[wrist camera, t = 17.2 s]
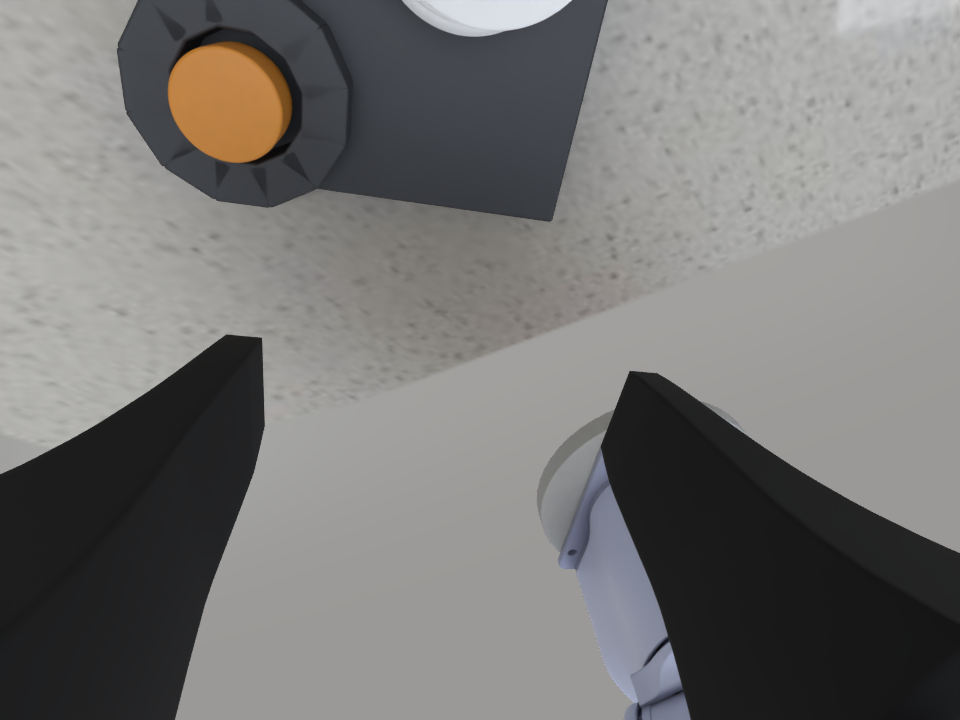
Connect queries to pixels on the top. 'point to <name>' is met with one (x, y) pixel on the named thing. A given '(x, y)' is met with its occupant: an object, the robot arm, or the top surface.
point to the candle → (483, 14)
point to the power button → (230, 101)
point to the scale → (377, 101)
